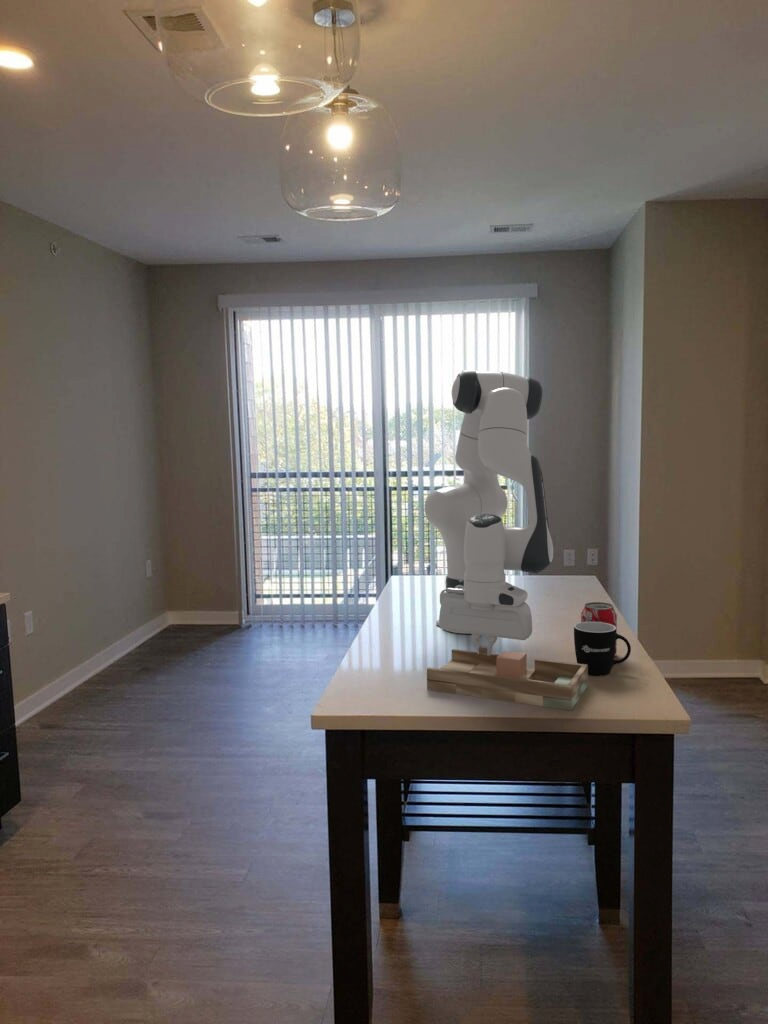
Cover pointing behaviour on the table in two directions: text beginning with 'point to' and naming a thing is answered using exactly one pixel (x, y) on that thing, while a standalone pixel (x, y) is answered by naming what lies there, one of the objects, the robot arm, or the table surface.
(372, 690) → the table surface
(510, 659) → the block
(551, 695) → the trap box
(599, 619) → the beverage can
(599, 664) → the mug
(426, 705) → the table surface
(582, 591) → the table surface
